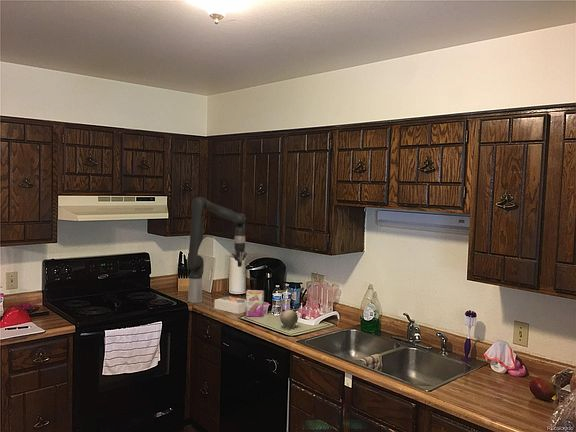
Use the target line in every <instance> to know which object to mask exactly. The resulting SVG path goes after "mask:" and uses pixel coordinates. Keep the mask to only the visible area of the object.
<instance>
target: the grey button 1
mask: <svg viewBox="0 0 576 432" xmlns="http://www.w3.org/2000/svg"><path fill="white" fill-rule="evenodd" d="M230 297H231V296H230ZM230 297H229V296H222V297H221V298H222V299H223V300H229V299H230Z"/></svg>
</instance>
